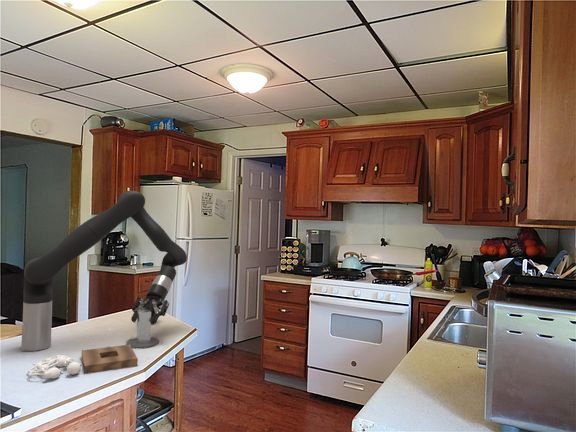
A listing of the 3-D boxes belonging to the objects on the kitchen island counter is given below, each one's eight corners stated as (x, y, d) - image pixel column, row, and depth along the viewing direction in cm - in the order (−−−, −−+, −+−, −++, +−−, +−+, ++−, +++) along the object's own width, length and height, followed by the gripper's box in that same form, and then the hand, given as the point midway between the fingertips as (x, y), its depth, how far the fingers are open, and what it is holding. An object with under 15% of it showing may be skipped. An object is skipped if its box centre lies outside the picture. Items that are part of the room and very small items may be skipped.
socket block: (84, 373, 128) (84, 365, 128) (81, 357, 142) (81, 350, 142) (137, 365, 136) (137, 358, 136) (129, 351, 150) (129, 344, 150)
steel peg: (138, 343, 156) (139, 312, 156) (136, 340, 160) (137, 310, 160) (150, 342, 158) (151, 311, 158) (148, 339, 162) (149, 309, 162)
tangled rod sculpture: (24, 369, 133) (23, 357, 133) (72, 357, 142) (71, 345, 142) (31, 388, 118) (30, 374, 118) (85, 373, 127) (84, 360, 127)
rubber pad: (129, 350, 151) (129, 348, 151) (124, 341, 161) (124, 339, 161) (161, 346, 157) (161, 344, 157) (155, 337, 167) (155, 335, 167)
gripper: (141, 281, 168) (122, 315, 157) (171, 284, 165) (154, 319, 154) (148, 292, 174) (130, 325, 163) (178, 295, 170) (162, 329, 159)
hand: (142, 322), depth 158 cm, fingers open, 8 cm apart
